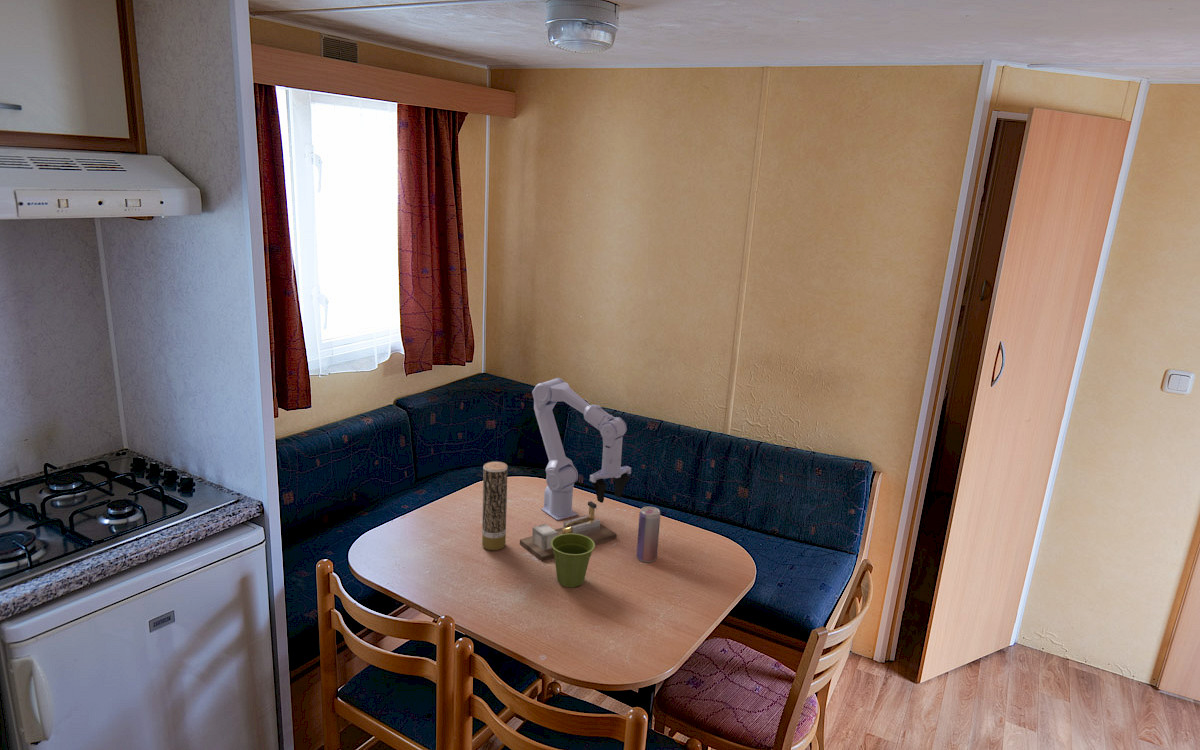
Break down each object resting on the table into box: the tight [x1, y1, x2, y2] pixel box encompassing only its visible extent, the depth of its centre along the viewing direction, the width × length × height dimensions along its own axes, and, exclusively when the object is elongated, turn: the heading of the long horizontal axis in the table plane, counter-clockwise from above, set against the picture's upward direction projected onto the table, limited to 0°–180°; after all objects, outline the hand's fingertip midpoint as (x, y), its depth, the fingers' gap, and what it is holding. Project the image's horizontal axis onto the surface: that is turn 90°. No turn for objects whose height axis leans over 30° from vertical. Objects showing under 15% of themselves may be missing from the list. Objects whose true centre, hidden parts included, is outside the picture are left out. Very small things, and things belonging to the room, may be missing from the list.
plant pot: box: [551, 533, 596, 588], centre depth 200 cm, size 12×12×11 cm
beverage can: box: [635, 505, 661, 563], centre depth 214 cm, size 6×6×15 cm
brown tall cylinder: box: [481, 461, 509, 551], centre depth 215 cm, size 7×7×25 cm
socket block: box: [531, 523, 558, 550], centre depth 217 cm, size 6×4×4 cm
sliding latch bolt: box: [562, 501, 598, 534], centre depth 224 cm, size 3×11×8 cm, turn 127°
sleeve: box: [563, 514, 601, 536], centre depth 225 cm, size 5×10×4 cm, turn 127°
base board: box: [519, 522, 618, 562], centre depth 223 cm, size 12×27×2 cm, turn 127°
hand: (609, 499), depth 229 cm, fingers open, 6 cm apart
